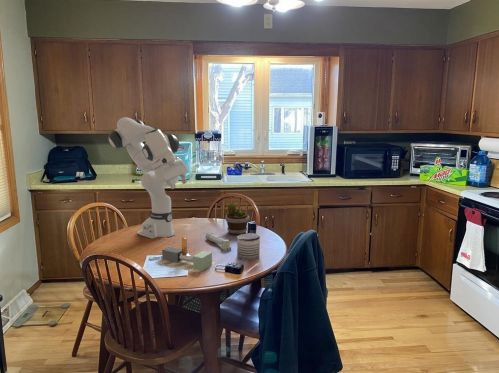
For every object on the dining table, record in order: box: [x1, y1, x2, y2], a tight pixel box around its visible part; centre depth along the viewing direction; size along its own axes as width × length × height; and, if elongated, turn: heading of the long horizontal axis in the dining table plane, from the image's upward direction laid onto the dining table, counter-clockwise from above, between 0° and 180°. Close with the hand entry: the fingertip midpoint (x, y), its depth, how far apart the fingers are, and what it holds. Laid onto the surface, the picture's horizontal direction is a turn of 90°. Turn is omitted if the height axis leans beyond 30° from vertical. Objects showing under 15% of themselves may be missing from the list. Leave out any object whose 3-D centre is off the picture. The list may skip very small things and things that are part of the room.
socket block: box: [192, 250, 213, 272], centre depth 176 cm, size 5×8×6 cm, turn 153°
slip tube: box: [178, 237, 194, 262], centre depth 181 cm, size 16×3×11 cm, turn 63°
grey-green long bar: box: [205, 232, 232, 252], centre depth 208 cm, size 5×7×25 cm
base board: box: [155, 259, 216, 274], centre depth 182 cm, size 25×14×1 cm, turn 63°
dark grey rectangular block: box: [161, 246, 182, 263], centre depth 184 cm, size 9×5×5 cm, turn 63°
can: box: [236, 232, 261, 261], centre depth 190 cm, size 11×11×12 cm
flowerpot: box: [224, 201, 250, 236], centre depth 229 cm, size 14×15×20 cm
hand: (179, 185), depth 184 cm, fingers open, 8 cm apart
